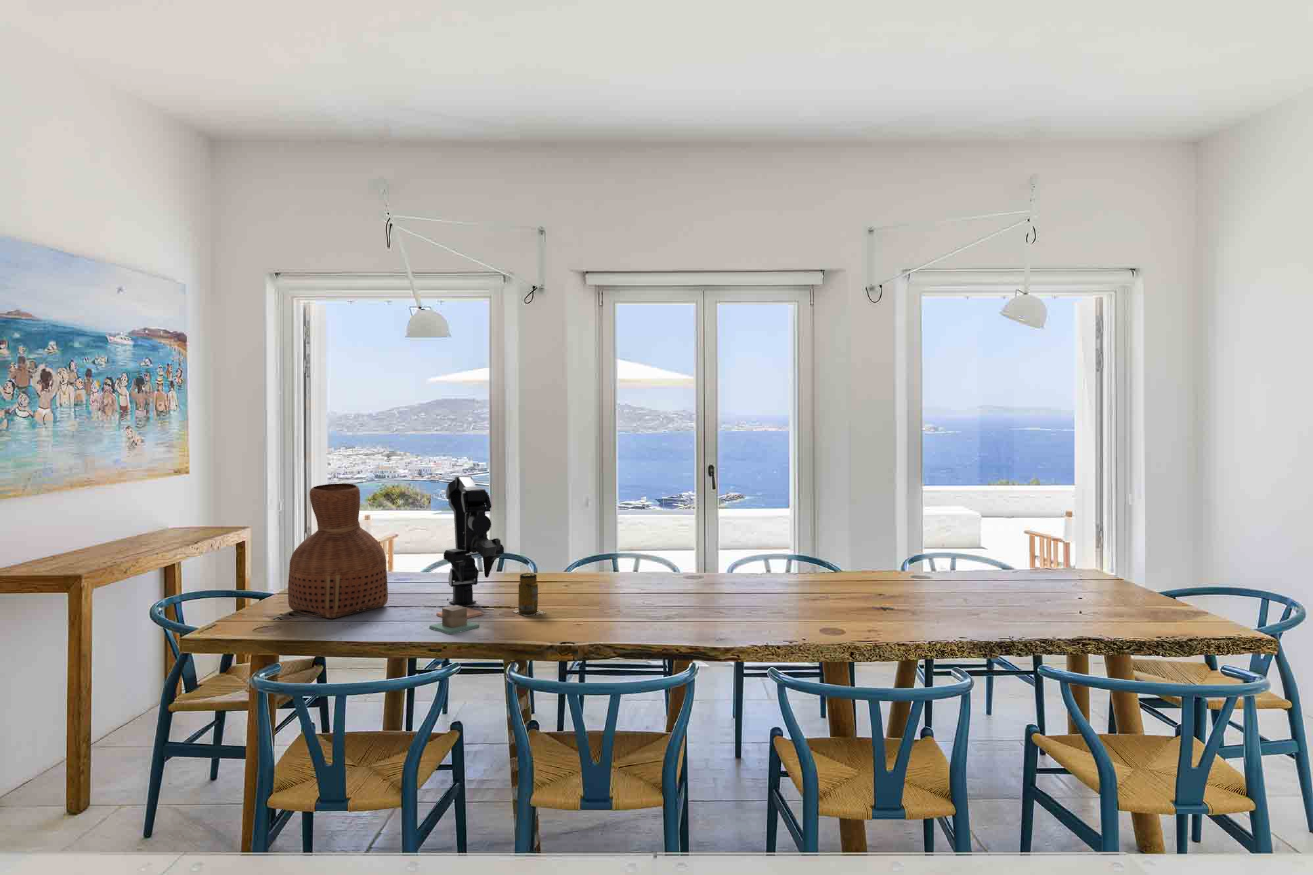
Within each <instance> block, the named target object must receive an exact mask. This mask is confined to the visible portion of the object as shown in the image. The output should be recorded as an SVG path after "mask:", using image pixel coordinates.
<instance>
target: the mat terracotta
mask: <svg viewBox="0 0 1313 875" xmlns="http://www.w3.org/2000/svg"><path fill="white" fill-rule="evenodd" d="M466 608H467V619H469V618H470V619H471V618H475V617H479V616H482V615H483V616H484V612H483V611H480V610H476V609H473V608H469V607H466ZM435 614H436V616H437V617H440V618H442V611H439V612H436V613H435Z"/></svg>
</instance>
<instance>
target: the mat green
mask: <svg viewBox="0 0 1313 875" xmlns="http://www.w3.org/2000/svg"><path fill="white" fill-rule="evenodd" d="M478 628H480V624H479V623H476V622H471V621H468V620H467V625H464V626H460V627H456V628H450V627H446V626H443V625H442V622H439V623H434V624H429V629H431V630H434V629H435V630H434V631H437V632H440V631H441V633H445V634H447V633H448V635H453V633H454V634H457V633H461V632H460V631H462V632H465V631H468V629H470V630H472V629H473V630H474V629H478Z"/></svg>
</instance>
